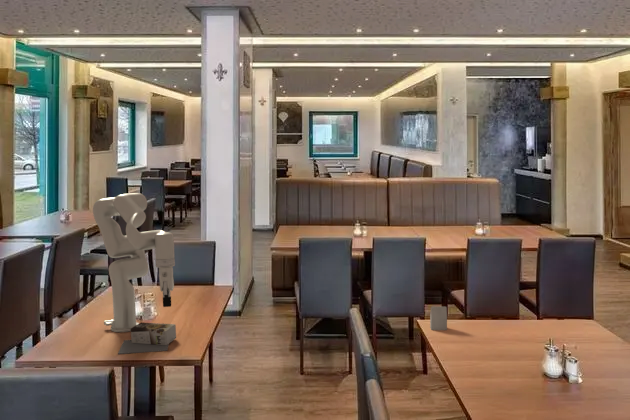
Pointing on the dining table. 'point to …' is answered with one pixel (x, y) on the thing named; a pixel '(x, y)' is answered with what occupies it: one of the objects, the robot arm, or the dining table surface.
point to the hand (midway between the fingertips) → (167, 306)
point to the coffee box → (153, 333)
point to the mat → (140, 347)
